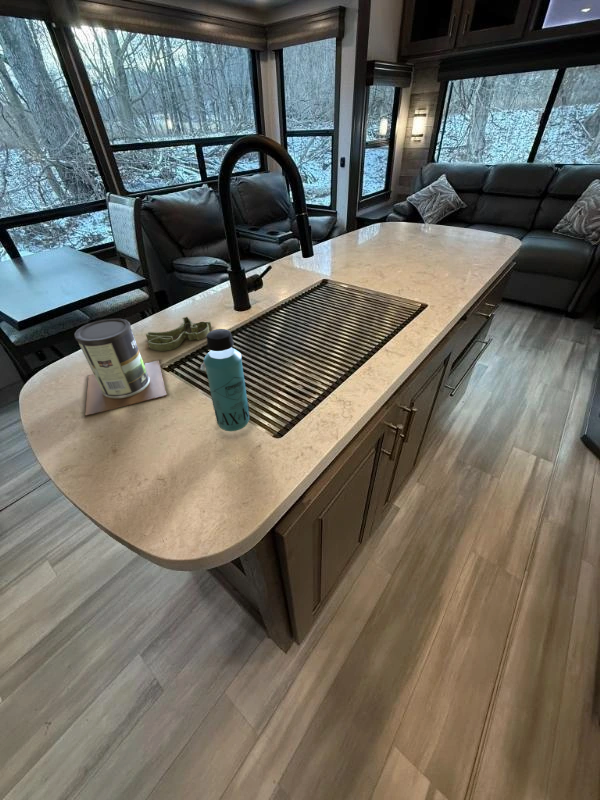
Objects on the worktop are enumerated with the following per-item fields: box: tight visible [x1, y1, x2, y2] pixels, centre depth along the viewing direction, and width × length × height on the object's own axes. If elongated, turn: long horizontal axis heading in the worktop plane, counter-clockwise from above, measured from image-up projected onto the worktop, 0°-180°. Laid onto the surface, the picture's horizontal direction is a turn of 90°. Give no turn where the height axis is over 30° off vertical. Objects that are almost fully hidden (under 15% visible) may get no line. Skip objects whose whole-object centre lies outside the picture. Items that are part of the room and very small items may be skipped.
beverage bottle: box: [203, 328, 251, 432], centre depth 58 cm, size 6×7×20 cm
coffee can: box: [73, 318, 150, 399], centre depth 71 cm, size 10×10×14 cm
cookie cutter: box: [145, 316, 212, 352], centre depth 94 cm, size 18×12×2 cm, turn 142°
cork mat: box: [84, 359, 167, 417], centre depth 76 cm, size 16×16×1 cm
